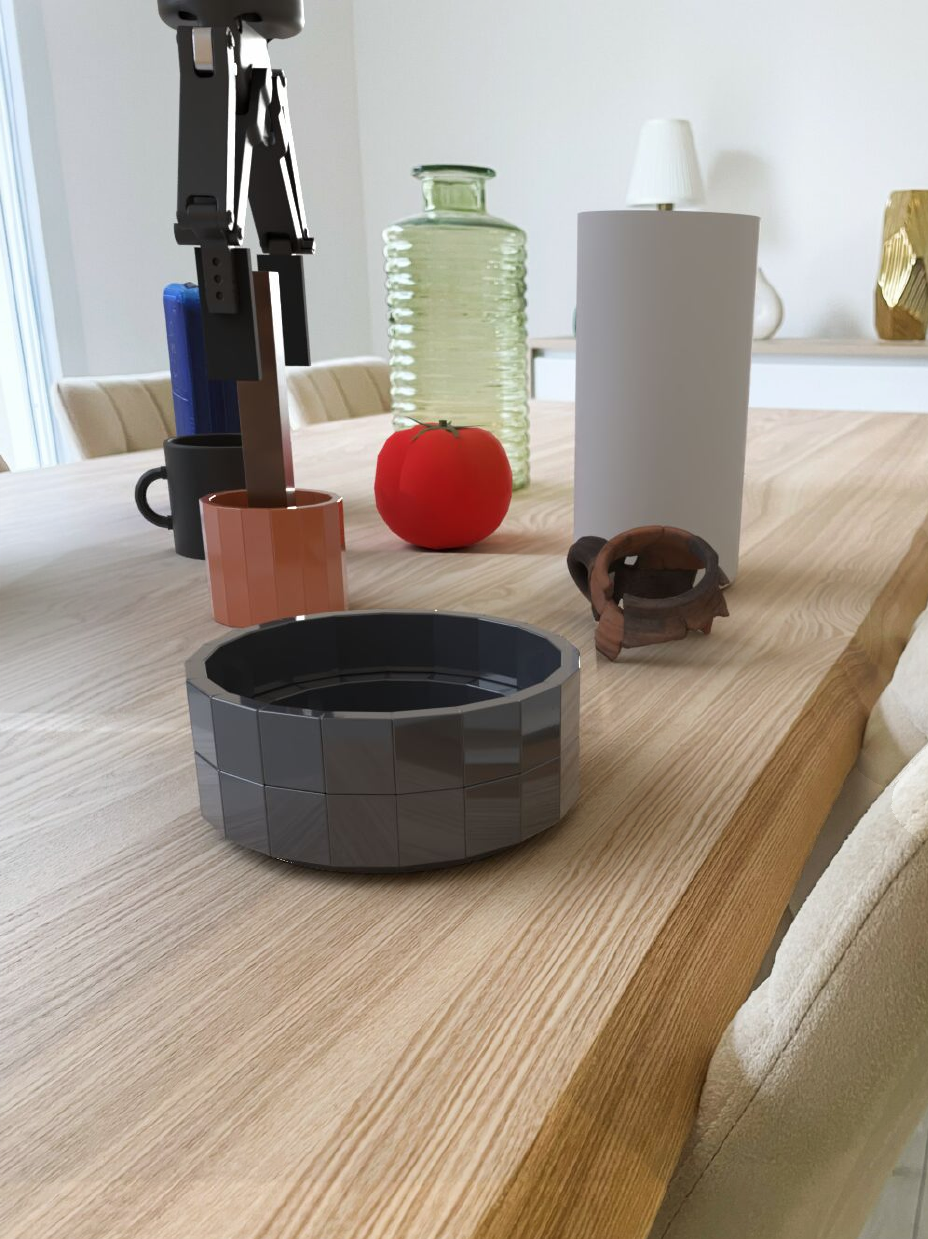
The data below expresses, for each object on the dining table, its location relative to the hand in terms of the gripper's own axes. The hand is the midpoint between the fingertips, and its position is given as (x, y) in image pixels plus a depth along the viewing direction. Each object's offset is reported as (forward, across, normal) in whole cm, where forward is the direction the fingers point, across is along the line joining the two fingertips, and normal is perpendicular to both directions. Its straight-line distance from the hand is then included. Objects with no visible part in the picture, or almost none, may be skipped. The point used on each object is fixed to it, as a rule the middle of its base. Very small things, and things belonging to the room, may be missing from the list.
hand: (264, 373), depth 72 cm
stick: (+14, 0, 0) cm, 15 cm away
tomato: (+16, +27, -8) cm, 32 cm away
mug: (+15, +20, +9) cm, 27 cm away
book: (+15, +41, +15) cm, 46 cm away
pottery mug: (+16, -3, -23) cm, 28 cm away
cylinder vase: (+16, +15, -25) cm, 33 cm away
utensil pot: (+15, 0, 0) cm, 15 cm away
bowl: (+15, -29, -11) cm, 35 cm away
